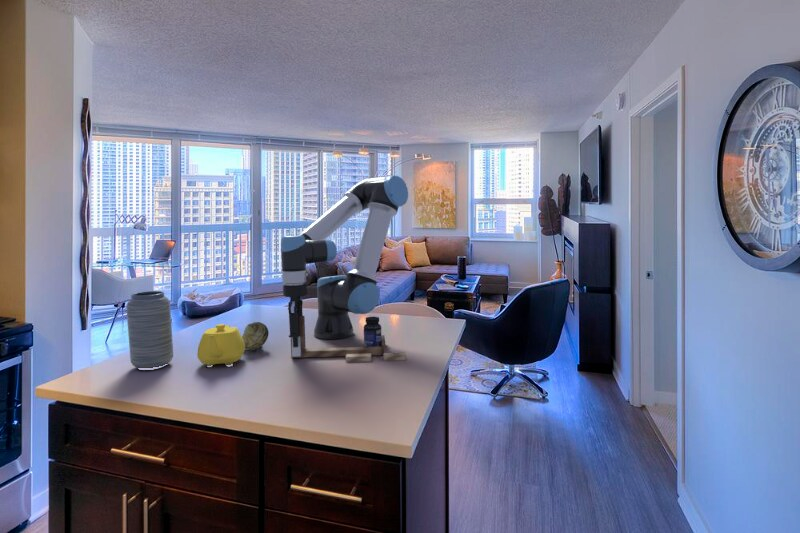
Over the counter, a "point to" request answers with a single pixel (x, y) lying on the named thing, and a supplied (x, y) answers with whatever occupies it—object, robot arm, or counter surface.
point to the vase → (149, 329)
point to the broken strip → (368, 357)
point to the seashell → (255, 335)
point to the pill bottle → (372, 332)
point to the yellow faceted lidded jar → (221, 345)
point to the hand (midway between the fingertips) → (297, 353)
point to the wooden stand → (334, 351)
